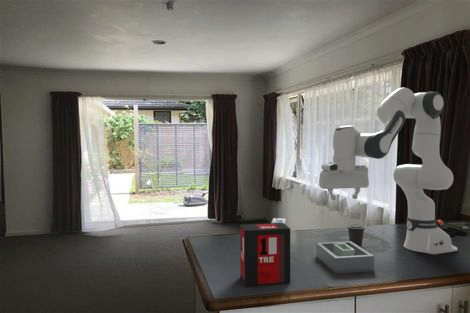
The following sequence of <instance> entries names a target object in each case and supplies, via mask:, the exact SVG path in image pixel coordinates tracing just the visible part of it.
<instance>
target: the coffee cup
mask: <svg viewBox="0 0 470 313" xmlns="http://www.w3.org/2000/svg"><path fill="white" fill-rule="evenodd" d="M347 229H348V230H347V231H348V239H349V240H348V241H351V242H353V243H354V244H356V245H358V246H359V247H361V248H362V247H363V246H362V245H363V240H364V232H365V230H366V228H365V226H363V225H359V224H357V223H356V224H350V225H348V226H347Z"/></svg>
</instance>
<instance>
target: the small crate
mask: <svg viewBox="0 0 470 313" xmlns="http://www.w3.org/2000/svg"><path fill="white" fill-rule="evenodd" d="M333 254H335V255H336V256H337V257H339V256H355V250H354V249H353V248H351V247H350V246H348V245H347V244H345V243H339V244H334V248H333Z"/></svg>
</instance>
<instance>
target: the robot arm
mask: <svg viewBox="0 0 470 313" xmlns="http://www.w3.org/2000/svg"><path fill="white" fill-rule="evenodd" d="M444 107H445V99H444V97H443V95H441V93H439V92H438V91H428V92H417V93H414V92H413V90H411V89H410V88H407V87H399V88H397V89H396V90H394V91H393V92H391V93H390V94H389V95H388V96H387V97H386V98H384V100H383V101H382V102H381V103H380V104H379V106H378V107H377V109H376V113H377V114H376V115H377V117H378V119H379V120H380V122H381V123H382V124H384V127H383V128H382V129H381V130H380V131H378V132H372V133H362V132H360V131H359V130H357V129H356V128H355V126H354V125H352V124H349V125H348V124H347V125H342V126H338V127H336V128H335V129H334V132H333V138H332V149H333V156H332V160H331V161H328V162H326V163H323V164H321V171H320V174H319V179H318V180H319V181H318V185H319V188H320V189H323V190H327V192H328V194H329V195H330V200H333V201H335V200H336V195H335V194H334V193H333V192H334V190H335V189H354V190H355V191H354V193H352V194H351V197H352V199H354V200H358V195H359V193H360V192H361V188H362V189H363V188H365V189H366V188H368V187H369V186H370V180H369V168H368V167H367V166H366V165H365V164H361V165H359V164H357V165H356V157H361V158H372V159H376V160H380V159H383V158H384V157H386V156H387V154H389V152H390V151H391V150H390V149H391V147H392V144H393V142H394V141H395V139H396V138H397V136H398V134H399V132H400V131H401V129H402V128H403V127H404V124H405V121H406V120H407V119H415V126H414V129H413V130H414V131H413V137H412V145H411V150H412V152H413V154H414V155H415V156H417V157H419V158H421V160H422V163H421V164H417V163H416V164H414V163H413V164H412V163H405V164H400V165H398V166H397V167H395V168H394V171H393V180H394V182H395V183H396V185H398V186H399V187H400V188H401V190H402V191H403V193H404V195H405V197H406V200H407V201H406V202H407V217H406V228H407V229H406V235H405V241H404V244H403V247H404V248H405V249H407V250H410V251H413V252H419V253H425V254H430V255H438V254H445V253H446V254H447V253H453V252H458V251H459V250H458V247H457V246H455V245H453V244H452V238H451V236H450V235H449V234H448V233H447V232H446V231H444V230H443V229H441V227H439V225H440V226H442V225H443V224H444V221H443V220H441V219H437V218H436V216H435V215H436V204H435V201H434V200H433V199H432V198H430V197H429V196H427V194H425V191H424V190H431V191H432V190H434V191H442V190H448V189H450V187H452V185H453V182H454V174H453V172H452V170H451V169H450V168H449V167H447V166H446V164H445V163H444V161H443V160H442V158H441V154H440V144H441V142H440V141H441V130H442V128H441V126H442V125H441V118H440V117H441V116H440V115H441V113H442V111H443V110H444Z"/></svg>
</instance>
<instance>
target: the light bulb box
mask: <svg viewBox="0 0 470 313" xmlns="http://www.w3.org/2000/svg"><path fill="white" fill-rule="evenodd" d="M270 223H284V224H285V225H286V226H287V218H280V217H279V218H278V217H273V219H272V221H271V222H270Z"/></svg>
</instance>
